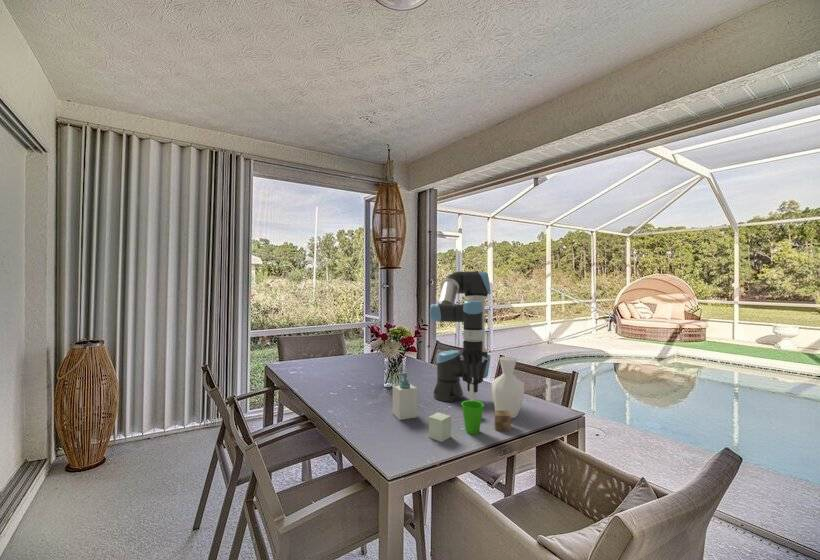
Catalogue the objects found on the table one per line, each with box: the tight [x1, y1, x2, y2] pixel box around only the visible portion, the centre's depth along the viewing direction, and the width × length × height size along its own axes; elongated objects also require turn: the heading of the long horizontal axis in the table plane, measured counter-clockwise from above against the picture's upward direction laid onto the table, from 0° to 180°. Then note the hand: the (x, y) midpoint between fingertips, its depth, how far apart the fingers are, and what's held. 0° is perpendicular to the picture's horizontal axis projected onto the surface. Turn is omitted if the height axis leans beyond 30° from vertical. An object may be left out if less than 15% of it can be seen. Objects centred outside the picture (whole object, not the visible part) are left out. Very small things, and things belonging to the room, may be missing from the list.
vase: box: [491, 356, 525, 419], centre depth 163 cm, size 14×14×25 cm
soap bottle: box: [392, 371, 419, 421], centre depth 162 cm, size 9×9×19 cm
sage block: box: [428, 412, 452, 443], centre depth 140 cm, size 6×6×8 cm
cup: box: [460, 399, 485, 435], centre depth 145 cm, size 9×9×11 cm
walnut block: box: [494, 409, 512, 432], centre depth 149 cm, size 6×6×6 cm
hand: (472, 399), depth 145 cm, fingers closed
